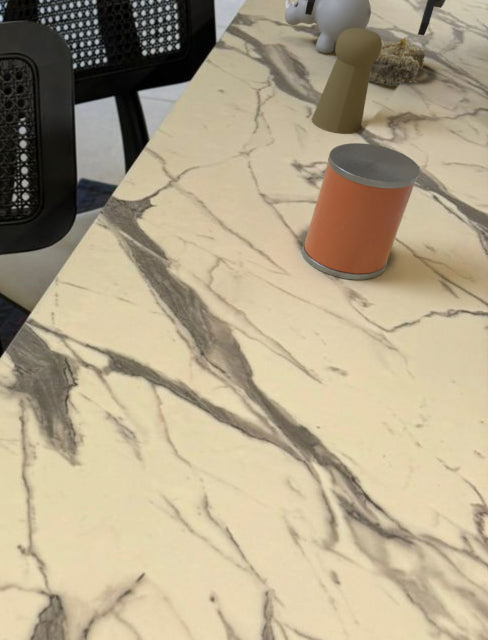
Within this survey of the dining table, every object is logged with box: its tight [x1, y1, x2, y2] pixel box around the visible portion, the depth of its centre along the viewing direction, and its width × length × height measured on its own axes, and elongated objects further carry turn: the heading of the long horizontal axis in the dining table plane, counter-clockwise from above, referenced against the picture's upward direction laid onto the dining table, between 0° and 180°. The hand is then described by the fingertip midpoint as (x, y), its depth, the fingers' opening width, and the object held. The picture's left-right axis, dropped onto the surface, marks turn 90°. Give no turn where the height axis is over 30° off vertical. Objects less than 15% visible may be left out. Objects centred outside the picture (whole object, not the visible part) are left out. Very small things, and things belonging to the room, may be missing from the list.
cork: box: [311, 28, 383, 135], centre depth 123 cm, size 6×6×11 cm
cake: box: [369, 37, 426, 88], centre depth 138 cm, size 10×10×5 cm
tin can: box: [301, 142, 421, 281], centre depth 98 cm, size 8×8×10 cm
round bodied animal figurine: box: [284, 0, 372, 54], centre depth 144 cm, size 7×12×8 cm, turn 62°
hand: (365, 19), depth 123 cm, fingers open, 13 cm apart
